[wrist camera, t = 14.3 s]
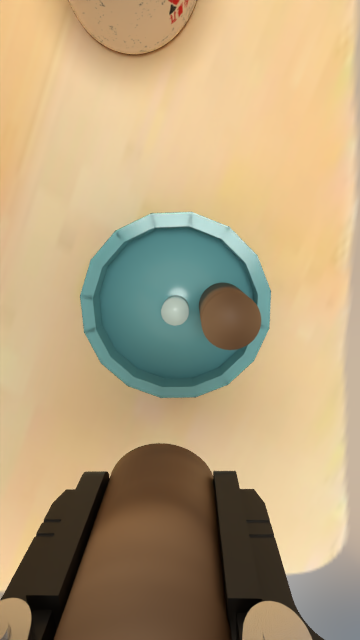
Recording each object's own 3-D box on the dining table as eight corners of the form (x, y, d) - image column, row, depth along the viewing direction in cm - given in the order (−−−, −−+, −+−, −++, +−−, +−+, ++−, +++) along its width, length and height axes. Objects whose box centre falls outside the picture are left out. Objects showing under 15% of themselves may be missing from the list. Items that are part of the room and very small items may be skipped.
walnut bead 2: (199, 328, 23) (201, 350, 18) (198, 283, 22) (200, 293, 17) (245, 327, 23) (260, 349, 18) (246, 281, 22) (262, 291, 17)
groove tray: (58, 308, 24) (44, 315, 21) (171, 174, 21) (169, 165, 19) (180, 413, 26) (179, 429, 23) (298, 302, 23) (310, 309, 21)
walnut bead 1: (88, 490, 10) (-10, 720, 5) (157, 423, 9) (122, 616, 4) (166, 548, 10) (145, 810, 6) (238, 489, 10) (285, 729, 5)
